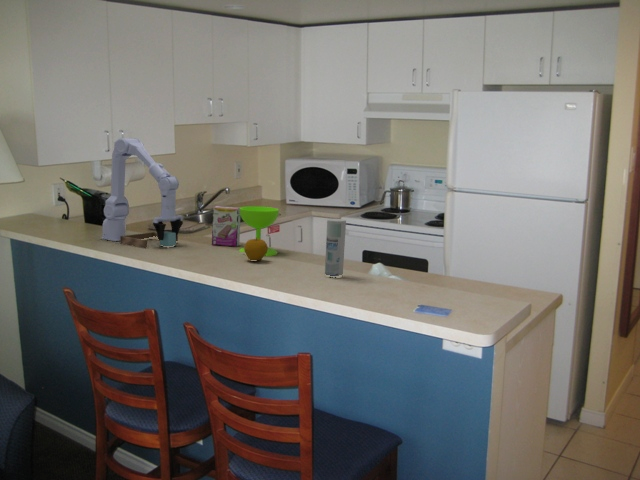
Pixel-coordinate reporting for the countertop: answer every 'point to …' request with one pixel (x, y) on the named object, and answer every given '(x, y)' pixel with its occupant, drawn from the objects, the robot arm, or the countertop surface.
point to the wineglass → (259, 221)
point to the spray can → (335, 247)
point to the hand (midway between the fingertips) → (167, 239)
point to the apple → (255, 249)
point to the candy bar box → (226, 226)
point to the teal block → (168, 239)
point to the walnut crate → (138, 239)
